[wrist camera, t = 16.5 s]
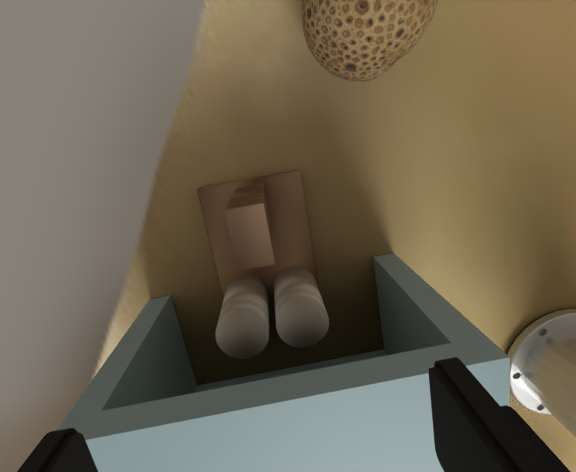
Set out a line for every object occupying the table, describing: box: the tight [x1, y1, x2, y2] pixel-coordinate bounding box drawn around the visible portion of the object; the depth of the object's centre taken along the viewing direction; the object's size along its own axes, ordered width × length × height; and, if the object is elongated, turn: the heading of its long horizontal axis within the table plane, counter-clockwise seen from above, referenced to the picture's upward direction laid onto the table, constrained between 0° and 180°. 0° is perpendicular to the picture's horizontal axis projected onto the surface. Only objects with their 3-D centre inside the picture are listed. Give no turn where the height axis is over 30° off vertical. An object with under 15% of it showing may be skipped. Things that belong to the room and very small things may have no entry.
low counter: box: [56, 253, 510, 472], centre depth 28 cm, size 24×12×17 cm, turn 100°
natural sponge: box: [303, 0, 438, 81], centre depth 24 cm, size 9×9×10 cm
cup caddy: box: [197, 170, 329, 358], centre depth 28 cm, size 9×14×11 cm, turn 9°
